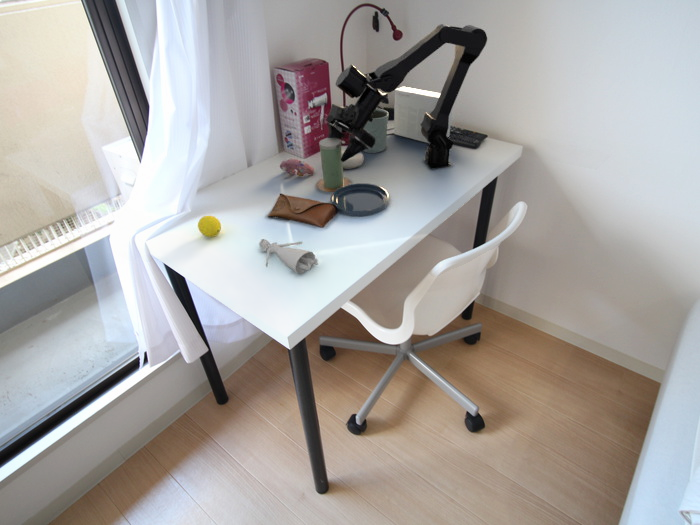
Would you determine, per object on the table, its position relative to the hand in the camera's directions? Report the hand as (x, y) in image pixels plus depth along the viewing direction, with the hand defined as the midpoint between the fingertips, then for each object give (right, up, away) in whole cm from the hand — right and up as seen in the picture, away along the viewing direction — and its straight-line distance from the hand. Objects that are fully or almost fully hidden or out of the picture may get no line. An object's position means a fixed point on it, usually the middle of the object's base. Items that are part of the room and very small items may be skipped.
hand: (333, 155), depth 124 cm
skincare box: (+30, +14, +31) cm, 45 cm away
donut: (+4, +1, +17) cm, 18 cm away
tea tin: (0, -7, +5) cm, 9 cm away
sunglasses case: (-8, -18, -7) cm, 21 cm away
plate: (+7, -14, -4) cm, 16 cm away
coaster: (0, -8, +5) cm, 9 cm away
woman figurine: (-10, -30, -23) cm, 39 cm away
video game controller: (-12, -3, +13) cm, 18 cm away
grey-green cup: (+13, +9, +26) cm, 31 cm away
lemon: (-31, -24, -13) cm, 41 cm away
